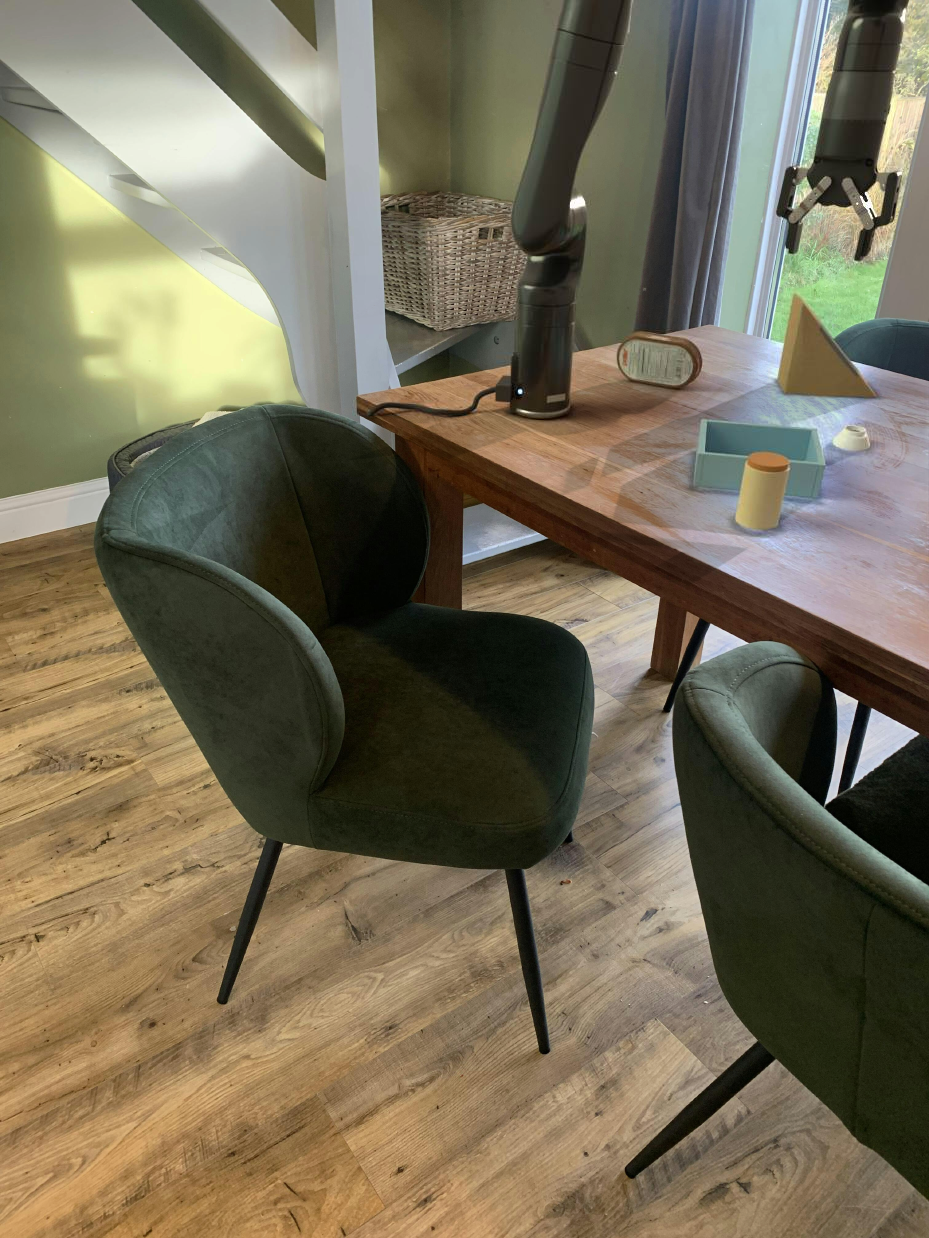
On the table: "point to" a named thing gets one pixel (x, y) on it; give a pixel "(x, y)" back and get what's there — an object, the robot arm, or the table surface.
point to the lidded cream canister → (762, 490)
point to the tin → (659, 359)
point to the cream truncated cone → (852, 438)
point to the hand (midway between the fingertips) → (825, 256)
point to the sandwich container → (816, 359)
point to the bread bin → (735, 441)
